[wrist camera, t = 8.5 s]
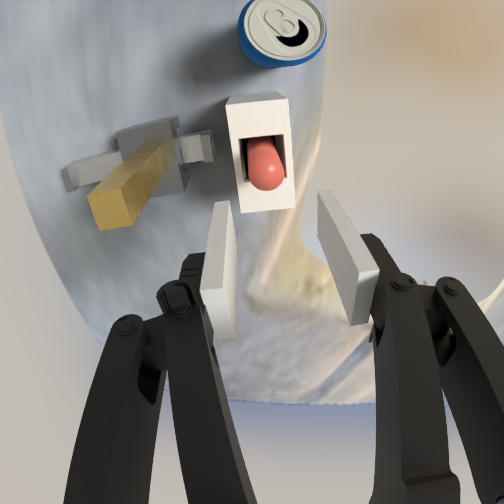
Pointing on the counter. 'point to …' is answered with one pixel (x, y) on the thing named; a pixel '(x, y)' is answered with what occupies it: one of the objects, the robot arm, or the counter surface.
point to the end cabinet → (253, 125)
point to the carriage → (139, 173)
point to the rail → (103, 164)
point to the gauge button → (264, 164)
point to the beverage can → (281, 32)
